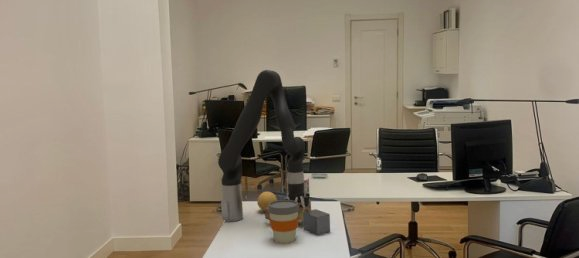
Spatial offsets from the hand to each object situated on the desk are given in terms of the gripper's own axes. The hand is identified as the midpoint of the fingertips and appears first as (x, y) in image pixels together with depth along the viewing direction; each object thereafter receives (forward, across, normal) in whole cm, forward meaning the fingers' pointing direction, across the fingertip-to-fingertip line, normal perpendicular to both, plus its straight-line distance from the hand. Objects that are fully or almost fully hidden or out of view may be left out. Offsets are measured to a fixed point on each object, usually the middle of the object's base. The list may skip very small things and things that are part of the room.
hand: (297, 217), depth 213 cm
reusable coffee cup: (+3, +16, +13) cm, 21 cm away
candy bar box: (+3, -11, -14) cm, 18 cm away
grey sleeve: (+3, 0, +14) cm, 14 cm away
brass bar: (0, 0, +3) cm, 3 cm away
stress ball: (+3, 0, -25) cm, 25 cm away
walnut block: (+3, 0, -7) cm, 7 cm away
